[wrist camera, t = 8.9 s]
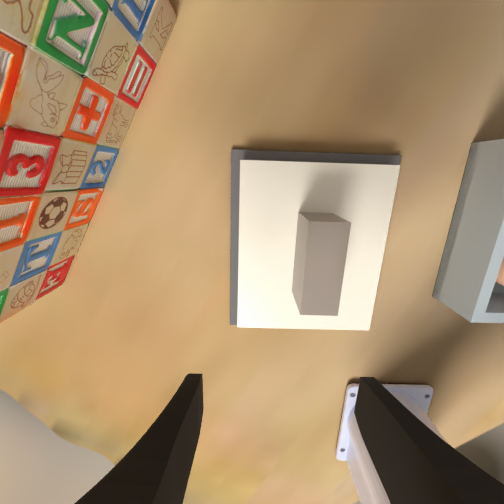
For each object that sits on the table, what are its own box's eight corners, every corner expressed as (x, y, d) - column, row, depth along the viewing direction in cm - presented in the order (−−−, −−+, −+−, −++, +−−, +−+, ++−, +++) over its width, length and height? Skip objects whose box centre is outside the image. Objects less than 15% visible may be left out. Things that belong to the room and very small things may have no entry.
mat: (367, 325, 23) (369, 327, 23) (230, 322, 23) (229, 324, 22) (399, 155, 19) (401, 155, 18) (231, 149, 18) (231, 149, 18)
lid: (361, 320, 22) (391, 360, 18) (237, 317, 22) (234, 357, 17) (389, 165, 19) (436, 163, 14) (240, 160, 18) (237, 157, 14)
